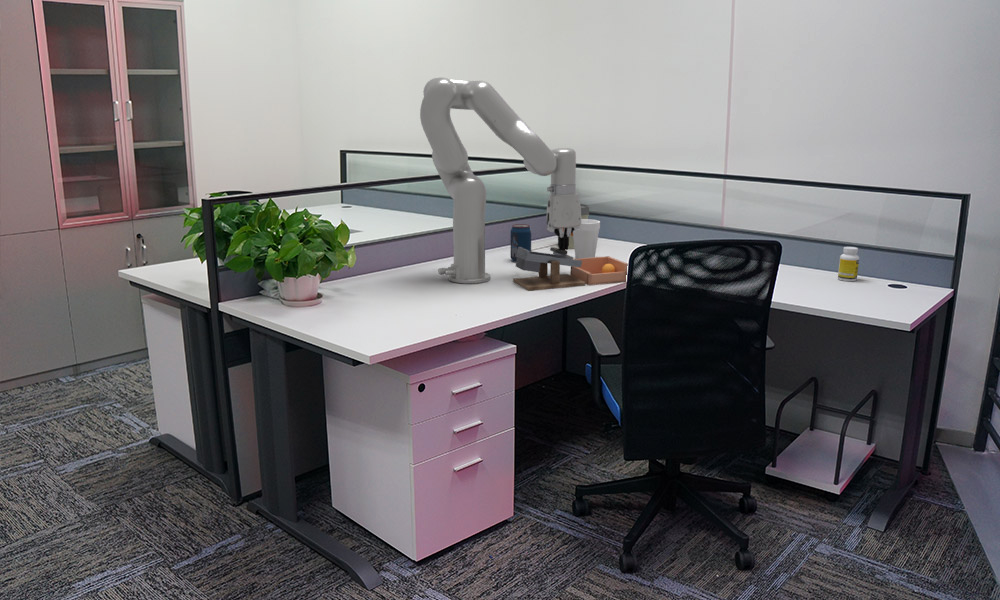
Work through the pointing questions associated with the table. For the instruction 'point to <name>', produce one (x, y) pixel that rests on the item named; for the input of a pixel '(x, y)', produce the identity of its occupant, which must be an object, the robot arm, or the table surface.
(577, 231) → the foam cup
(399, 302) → the table surface
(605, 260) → the bin
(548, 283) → the lever stand
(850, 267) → the supplement bottle
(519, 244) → the soda can
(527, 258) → the lever
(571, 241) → the reusable coffee cup
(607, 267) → the ball
